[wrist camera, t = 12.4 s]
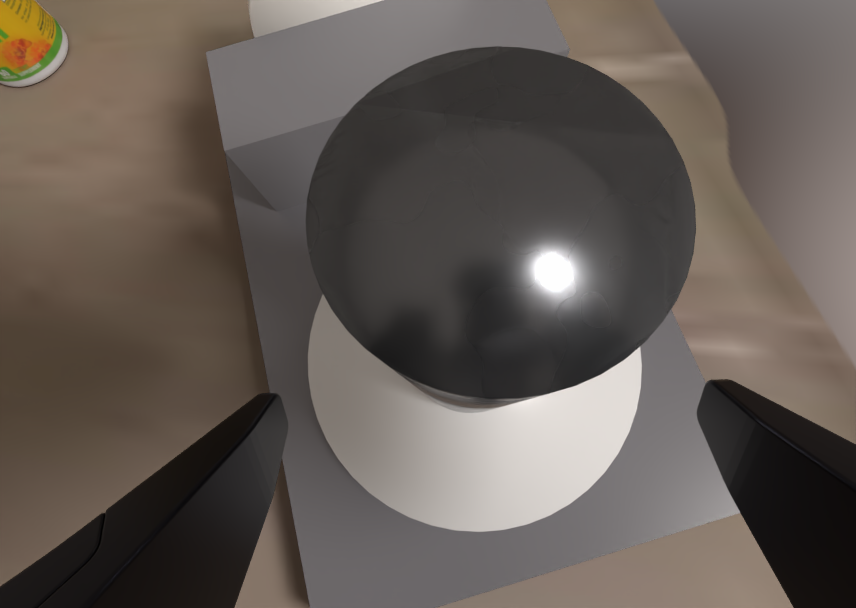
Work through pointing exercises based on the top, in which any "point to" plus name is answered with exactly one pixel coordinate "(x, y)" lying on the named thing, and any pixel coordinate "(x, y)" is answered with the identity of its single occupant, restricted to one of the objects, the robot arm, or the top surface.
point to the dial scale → (396, 397)
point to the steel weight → (500, 224)
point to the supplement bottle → (29, 43)
